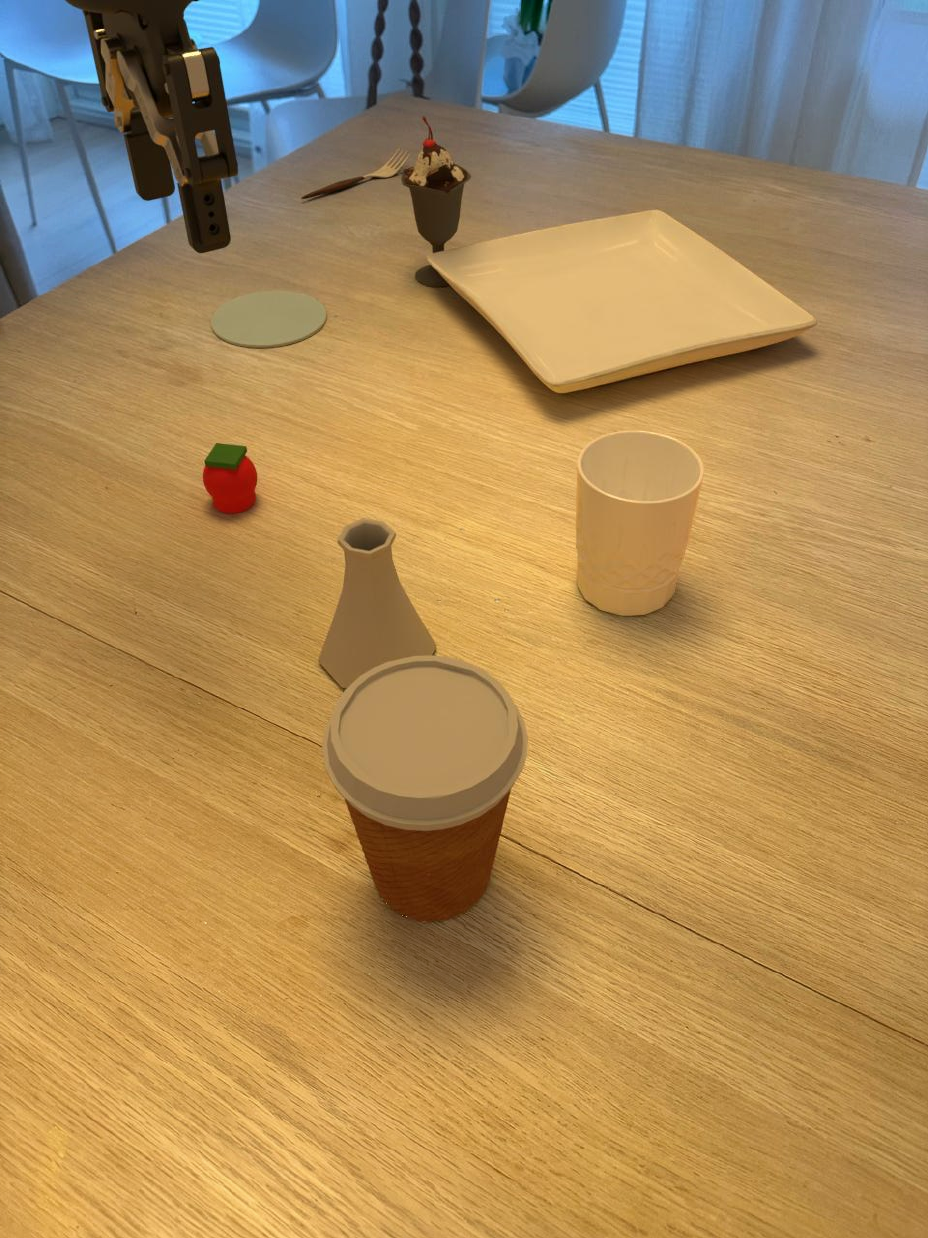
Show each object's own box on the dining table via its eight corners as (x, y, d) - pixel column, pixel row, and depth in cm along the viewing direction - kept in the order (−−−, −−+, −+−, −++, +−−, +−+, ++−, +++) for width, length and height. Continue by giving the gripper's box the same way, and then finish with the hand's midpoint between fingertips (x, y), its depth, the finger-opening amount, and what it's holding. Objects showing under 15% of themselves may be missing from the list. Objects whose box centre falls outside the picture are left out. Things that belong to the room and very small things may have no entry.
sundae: (424, 256, 111) (418, 105, 100) (482, 268, 109) (482, 115, 98) (394, 282, 106) (385, 127, 96) (453, 295, 104) (450, 138, 94)
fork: (295, 199, 122) (293, 182, 121) (399, 163, 130) (399, 146, 129) (308, 206, 121) (306, 188, 119) (413, 169, 129) (412, 152, 127)
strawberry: (200, 513, 79) (189, 465, 76) (219, 482, 82) (209, 435, 79) (250, 519, 78) (241, 471, 75) (268, 488, 81) (260, 440, 78)
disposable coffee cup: (335, 953, 53) (309, 808, 44) (349, 798, 60) (329, 648, 51) (525, 951, 53) (534, 806, 44) (517, 797, 60) (524, 647, 51)
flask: (298, 666, 67) (277, 545, 60) (369, 603, 72) (357, 483, 65) (387, 714, 64) (376, 592, 57) (456, 645, 69) (453, 524, 62)
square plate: (549, 423, 87) (551, 382, 85) (423, 287, 106) (421, 249, 103) (814, 353, 95) (824, 313, 93) (655, 238, 114) (659, 202, 111)
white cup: (681, 629, 69) (703, 508, 62) (562, 616, 70) (571, 495, 64) (684, 554, 75) (704, 435, 68) (573, 542, 76) (583, 424, 69)
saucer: (193, 342, 98) (193, 339, 98) (235, 288, 106) (235, 286, 106) (306, 352, 96) (306, 350, 96) (340, 298, 104) (340, 295, 104)
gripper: (-2, -130, 53) (81, 195, 64) (85, -82, 44) (165, 284, 55) (142, -144, 56) (198, 169, 67) (251, -102, 47) (295, 250, 58)
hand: (183, 221), depth 61 cm, fingers open, 8 cm apart
